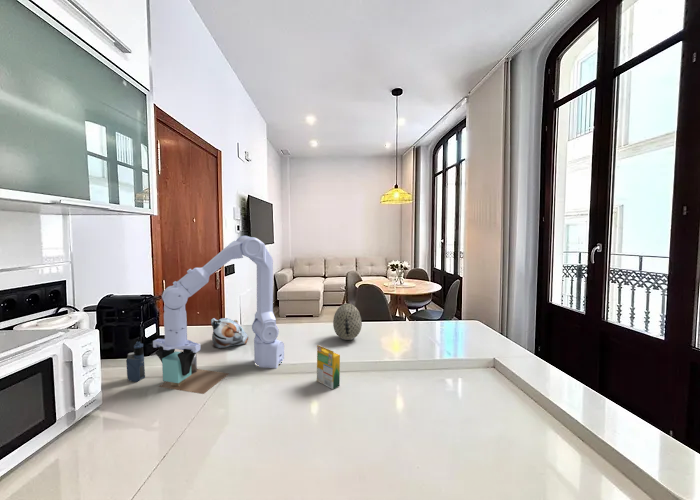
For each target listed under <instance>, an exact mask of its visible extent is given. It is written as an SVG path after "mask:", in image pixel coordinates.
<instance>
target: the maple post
mask: <svg viewBox="0 0 700 500" xmlns="http://www.w3.org/2000/svg"><path fill="white" fill-rule="evenodd" d="M184 382H185V379H184V380H183V381H181V382H180V383H174V382H171V385H175V386H179V385H181V384H182V383H184Z"/></svg>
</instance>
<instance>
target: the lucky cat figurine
mask: <svg viewBox="0 0 700 500" xmlns="http://www.w3.org/2000/svg"><path fill="white" fill-rule="evenodd" d="M210 324H211V327H212V330H213V331H212V334H211V335H212V336H211V341H212V346H213V347H215V348H217V347H218V348H217V349H219V348H222V349H224V348H228V347H233V346H240V345H246V344H247V343H248V340H249V335H248V334H247V332H245V330H244V328H243V327H242V326H241V325H240V324H239V321H238V320H237V319H234V320H233V319H231V318H227V317H226V318H225V317H223V318H222V317H221V318H220V319H217V318H216V317H213V318H212V319H210Z"/></svg>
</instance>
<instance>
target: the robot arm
mask: <svg viewBox="0 0 700 500" xmlns="http://www.w3.org/2000/svg"><path fill="white" fill-rule="evenodd" d="M244 257H247V258H249V260H251V261H252V262H253V263H254V264H255V265H256V311H255V313H254V319H253V322H252V323H251V330H252V332H253V333H254V334H255V335H254V339H253V348H254V349H253V351H254V352H253V353H254V354H253V357H254V358H253V359H254V361H253V362H255V363H256V364H257V365H259V367H258V368H271V369H277V368H278V364H279V363H281V361H283V359H284V360H285V343H284V341H282V340H279V339H278V336H279V333H280V331H279V328H278V325H277V318H276V316H275V314H274V304H273V303H274V286H273V285H274V260H273V257H272V255H271V254H270V252H269V251H268V248H267V247H266V244H265V243H264V242H263V241H262V240H260V239H259V238H257V237H254V236H252V237H251V236H248V235H241V236H239V237H238V238H236V240H233V241H232V242H230V243H229V244H228V245H227V246H225V247H224V248H223V249H222V250H221V251H220V252H219V253H217V254H216V255H215V256H214V257H212V258H211V259H210V260H209V261H208V262H207V263H205V264H204V265H203V266H202V267H194V268H193V269H192V268H189V269H188V270H186V274H185V275H184V276H182V277H181V278H180V279H178V280H177V281H176V280H174V281H173V282H172V284H173V285H169V286H167V287H166V288H165V289H164V290H163V292H162V295H161V299H162V301H163V303H164V305H163V311H164V312H163V329H164V338H157V339H154V340H152V347H153V348H156V349H157V348H158V349H157V350H155V355H156V356H157V357H158V358H159V360H160V361H161V363H162V358H164V357H166V356H168V355H170V354H172V353H174V352H176V351H175V350H181V351H180V352H181V353H179V354H178V357H179V360H180V363H181V370H182V375H183V376H185V375H187V374H188V373H189V372H190V367H191V364H192V361H193V358H194V356H195V354H196V355H197V353H199V351H201V343H197V342H194V341H192V340H189V339H188V321H187V310H186V304H187V302H188V299H189V298H190V297H192V296H193V295H195V294H196V293H197V292H198V291H200V290H201V288H203V287H205V286H206V285H207V284H208V283H209V281H210V276H211V275H213V274H214V273H215V272H217V271H218V270H219V269H221V268H222V267H223V266H225V265H226V264H227V263H229V262H230V261H232V260H235V259H236V260H238V259H243V258H244Z"/></svg>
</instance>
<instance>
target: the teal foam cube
mask: <svg viewBox="0 0 700 500" xmlns="http://www.w3.org/2000/svg"><path fill="white" fill-rule="evenodd" d="M181 352H182V351H174V353H172V354H170V355H168V356H166V357H164V358H162V362H161V363H162V364H161V365H162V366H161V367H162V381H163V382H166V381H167V382H174V383H180V382H181V381H183V380H184V379H186V378H187V377H189V376H190V375H191V367H190V372H189V373H188V374H187V375H185V376H183V375H182V370H181V363H180V360H179V357H178V354H179V353H181Z"/></svg>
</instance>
